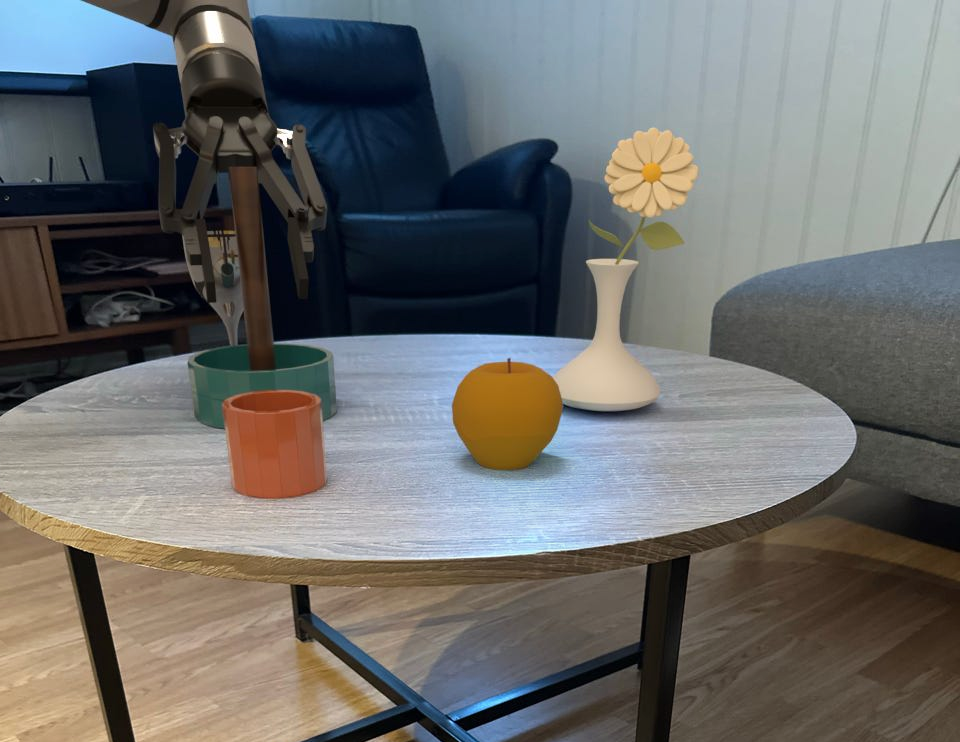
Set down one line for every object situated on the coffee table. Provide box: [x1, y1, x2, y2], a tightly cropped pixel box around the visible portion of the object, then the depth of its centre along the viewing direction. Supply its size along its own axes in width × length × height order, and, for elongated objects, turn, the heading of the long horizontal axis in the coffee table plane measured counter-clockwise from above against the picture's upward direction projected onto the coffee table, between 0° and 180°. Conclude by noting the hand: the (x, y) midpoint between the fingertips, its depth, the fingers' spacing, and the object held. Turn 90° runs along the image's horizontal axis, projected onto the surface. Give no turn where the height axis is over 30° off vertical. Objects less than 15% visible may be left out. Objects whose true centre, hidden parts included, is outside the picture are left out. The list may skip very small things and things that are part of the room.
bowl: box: [187, 342, 338, 430], centre depth 89 cm, size 13×13×6 cm
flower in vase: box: [552, 127, 699, 412], centre depth 89 cm, size 13×11×25 cm
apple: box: [451, 357, 564, 471], centre depth 75 cm, size 9×9×9 cm
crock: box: [222, 390, 328, 500], centre depth 70 cm, size 7×7×7 cm
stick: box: [228, 167, 276, 371], centre depth 85 cm, size 3×2×21 cm
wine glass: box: [181, 230, 244, 346], centre depth 103 cm, size 8×8×15 cm
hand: (258, 290), depth 81 cm, fingers open, 7 cm apart
